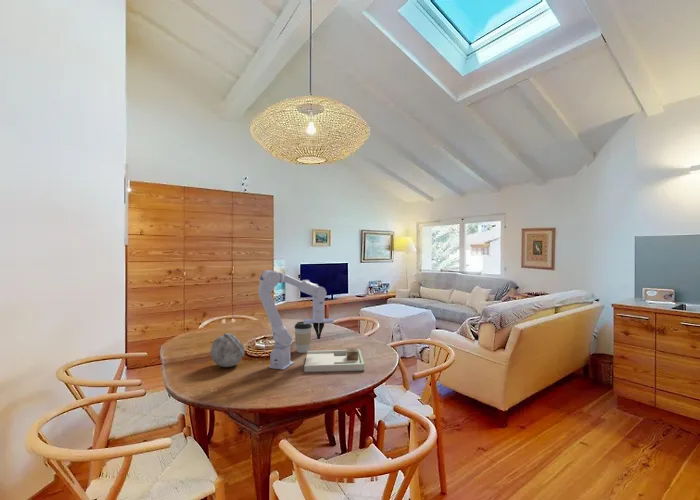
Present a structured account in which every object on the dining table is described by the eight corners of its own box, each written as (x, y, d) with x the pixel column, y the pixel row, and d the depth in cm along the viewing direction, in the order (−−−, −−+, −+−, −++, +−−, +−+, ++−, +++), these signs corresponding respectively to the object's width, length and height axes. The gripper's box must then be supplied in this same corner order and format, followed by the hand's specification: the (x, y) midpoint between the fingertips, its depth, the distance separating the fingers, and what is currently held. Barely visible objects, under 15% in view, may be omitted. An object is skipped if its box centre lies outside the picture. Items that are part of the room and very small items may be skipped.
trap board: (304, 372, 138) (304, 365, 138) (307, 356, 158) (307, 350, 158) (364, 371, 139) (364, 364, 139) (360, 355, 159) (360, 349, 159)
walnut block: (347, 360, 147) (347, 351, 147) (346, 356, 152) (346, 348, 152) (358, 360, 147) (358, 351, 147) (357, 356, 152) (357, 348, 152)
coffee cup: (303, 354, 161) (303, 325, 161) (290, 351, 166) (290, 322, 166) (315, 350, 168) (315, 321, 168) (303, 347, 173) (303, 319, 173)
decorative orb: (249, 366, 145) (249, 333, 145) (217, 375, 136) (216, 339, 136) (237, 358, 156) (236, 327, 156) (206, 365, 147) (205, 332, 147)
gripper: (303, 312, 152) (303, 341, 152) (333, 312, 153) (333, 340, 153) (304, 309, 159) (304, 337, 159) (333, 309, 160) (333, 336, 160)
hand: (318, 338), depth 157 cm, fingers closed
